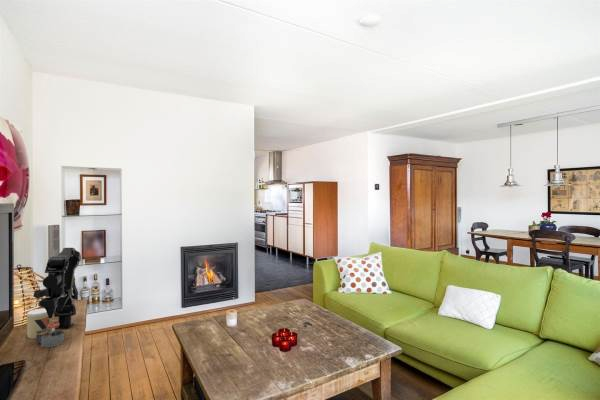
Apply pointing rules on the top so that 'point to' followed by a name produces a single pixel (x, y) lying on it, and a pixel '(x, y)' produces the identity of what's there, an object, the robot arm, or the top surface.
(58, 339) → the grey open tray
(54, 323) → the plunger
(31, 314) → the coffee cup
